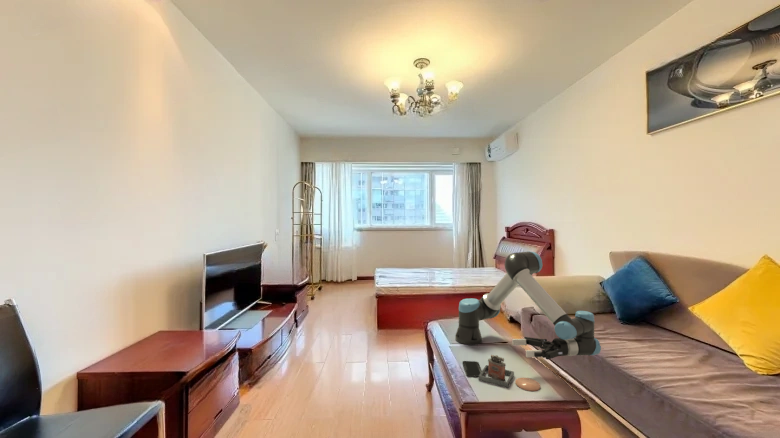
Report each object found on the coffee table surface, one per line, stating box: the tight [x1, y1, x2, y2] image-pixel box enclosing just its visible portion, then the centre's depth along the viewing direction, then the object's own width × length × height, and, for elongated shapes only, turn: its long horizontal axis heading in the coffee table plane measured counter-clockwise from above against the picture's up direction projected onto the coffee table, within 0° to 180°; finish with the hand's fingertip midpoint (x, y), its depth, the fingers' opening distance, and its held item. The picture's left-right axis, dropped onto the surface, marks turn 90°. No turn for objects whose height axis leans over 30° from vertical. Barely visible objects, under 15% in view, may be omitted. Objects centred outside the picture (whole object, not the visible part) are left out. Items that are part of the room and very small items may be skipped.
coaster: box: [514, 377, 541, 392], centre depth 145 cm, size 10×10×1 cm
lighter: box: [487, 354, 507, 382], centre depth 150 cm, size 8×3×10 cm, turn 44°
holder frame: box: [478, 364, 515, 389], centre depth 150 cm, size 13×13×2 cm
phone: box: [462, 360, 485, 379], centre depth 158 cm, size 8×1×15 cm
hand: (518, 347), depth 151 cm, fingers open, 13 cm apart
